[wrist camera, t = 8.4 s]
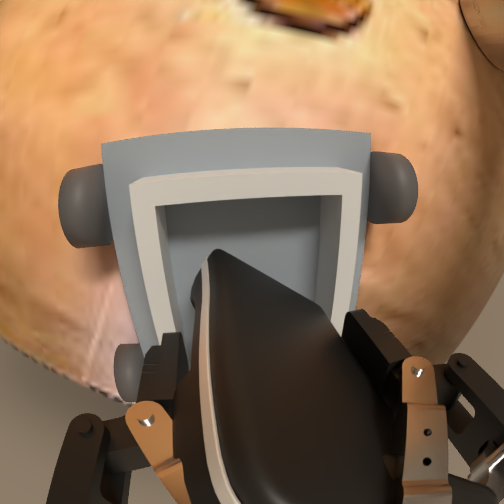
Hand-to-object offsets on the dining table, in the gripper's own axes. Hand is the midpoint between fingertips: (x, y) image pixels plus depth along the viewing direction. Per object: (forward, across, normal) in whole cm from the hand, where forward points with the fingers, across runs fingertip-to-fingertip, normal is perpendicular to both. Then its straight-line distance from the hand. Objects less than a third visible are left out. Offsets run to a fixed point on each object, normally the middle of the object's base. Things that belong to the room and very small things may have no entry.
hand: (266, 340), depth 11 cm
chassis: (+6, 0, 0) cm, 6 cm away
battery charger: (+3, 0, 0) cm, 3 cm away
